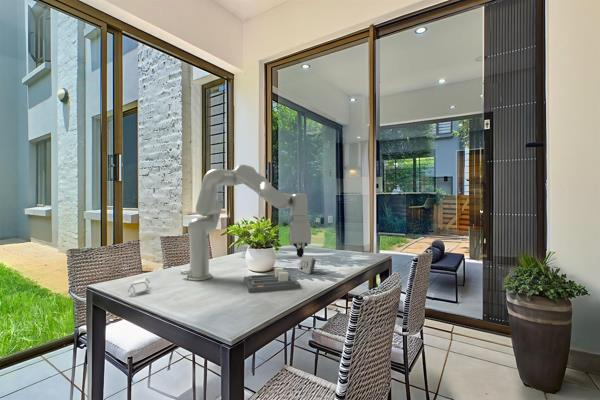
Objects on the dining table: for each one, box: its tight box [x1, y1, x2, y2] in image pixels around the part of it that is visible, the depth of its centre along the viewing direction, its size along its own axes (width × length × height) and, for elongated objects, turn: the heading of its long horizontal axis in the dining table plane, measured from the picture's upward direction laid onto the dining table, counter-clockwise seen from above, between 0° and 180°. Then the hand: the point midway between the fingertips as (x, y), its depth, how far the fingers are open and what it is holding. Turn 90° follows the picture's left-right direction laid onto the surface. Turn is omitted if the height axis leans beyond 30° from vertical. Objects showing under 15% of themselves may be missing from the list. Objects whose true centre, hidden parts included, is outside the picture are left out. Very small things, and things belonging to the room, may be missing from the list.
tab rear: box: [274, 266, 285, 277], centre depth 157 cm, size 4×3×4 cm
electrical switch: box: [298, 254, 317, 275], centre depth 175 cm, size 9×5×9 cm, turn 41°
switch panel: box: [243, 273, 301, 294], centre depth 151 cm, size 24×20×3 cm
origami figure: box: [126, 277, 151, 294], centre depth 140 cm, size 12×8×5 cm
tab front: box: [278, 271, 289, 282], centre depth 148 cm, size 4×3×4 cm
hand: (300, 256), depth 150 cm, fingers closed
